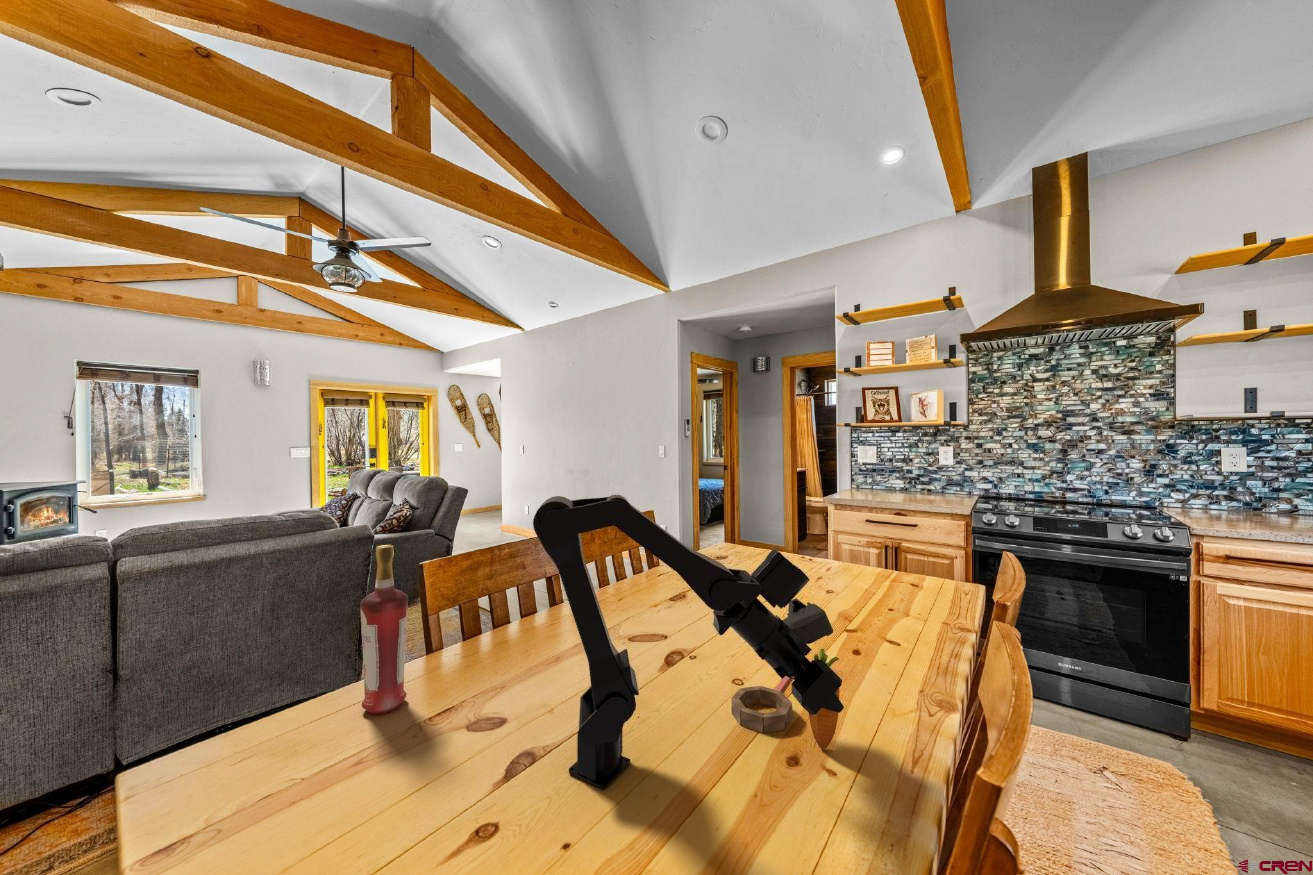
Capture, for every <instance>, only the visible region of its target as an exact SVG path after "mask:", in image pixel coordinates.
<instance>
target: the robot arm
mask: <svg viewBox="0 0 1313 875" xmlns="http://www.w3.org/2000/svg"><path fill="white" fill-rule="evenodd" d="M532 526H533V531H534V533H535V535H536V536H537V538H538V540H539V542H540V544H541V546H542V547H543V549H544V551H545V553H546V555H547V556H548V557H549V558H550V560H551V561H552V563H553V564H554V565H555V567H556V568H557V571H558V575H559V577H560V581H561V582H562V587H563V588H564V592H565V594H566V598H567V600H568V604H569V607H570V611H571V612H572V616H573V619H574V622H575V625H576V628H577V631H578V634H579V638H580V640H581V641H580V642H581V643H582V647H583V650H584V652H585V656H586V659H587V662H588V670H589V678H590V679H589V680H590V686H589V687H588V688H587V689H586V691H584V693H583V694H581V696H579V697H580V698H579V712H578V713H579V715H578V716H579V718H578V731H577V732H576V733H577V734H576V736H577V737H576V740H577V741H576V742H577V743H576V745H577V746H576V748H577V749H576V751H577V752H576V753H577V754H576V762H575V763H573V764H572V765H570V766H569V768H568V774H569V775H571V776H573V777H576V778H577V779H579V780H581V781H583V782H586V783H588V784H590V785H592V786H595V787H596V788H599V789H601V790H605V789H607V788H608V787H609V786H611V784H612V783H613V782H614V781H615V780H616V779H617V778H618V777H619V776H620V775H621V774H622V773H623V772H624V771H625V770H626V769H627V768H628V767H629V766H630V765H631V759H630V758H628V757H626V756H624V755H623V727H624V725H625V723H626V722H628V721H629V720H630V719H631V717H632V716H633V714H634V713H635V711H636V709H637V702H636V696H639V695H640V693H639V685H638V681H637V675H636V671H635V670H634V669H633V667H632V666H631V663H630V658H629V653H628V652H629V651H628V649H627V648H624V650H621V651H620V652H619V651H618V650H617V648H616V647H615V645H614V644H613V642H612V638H611V636H610V633H609V630H608V627H607V624H606V621H605V617H604V613H603V611H602V609H601V605H600V602H599V600H598V596H597V594H596V590H595V588H594V587H595V586H594V584H593V581H592V578H591V576H590V572H589V569H588V565H587V563H586V559H585V557H584V553H583V544H582V534H585V533H589V532H592V531H593V532H594V531H596V530H599V529H604V528H609V527H615V528H617V529H618V530H620V531H621V532H622V533H624V534H625V535H626V536H628V537H629V538H630V539H632V540H633V541H635V543H637V544H638V545H639V546H641V547H643V549H645V550H646V551H648V552H649V553H650V554H652V556H654V557H656V558H657V559H658V560H660V561H661V562H662V563H664V564H665V565H666V566H668V568H670V569H671V570H673V571H675V572H676V574H678V575H679V576H680V577H681V579H682V580H683V581H684V582H685V583H686V584H687V585H688V587H689V588H690V589H691V590H692V591H693V592H694V593H695V594H696V595H697V596H698V598H699V599H700V600H702V602H703V603H704V604H705V605H706V606H707V607H708V608H709V609H711V610H713V612H712V614H713V623H712V626H713V627H714V629H715V631H716V632H717V634H718V635H719V636H723V635H724V634H726V632H727V631H728V630H729V629H730V628H731V629H733V631H734V632H736V633H737V635H739V637H741V638H742V640H744V641H745V643H747V644H748V645H749V646H750V647H751V648H752V650H753V651H754V652H755V653H756V655H758V657H759V658H760V659H761V661H765V662H766V663H767V664H768V665H769V666H770V667H771V668H772V670H774V672H775V673H776V674H777V676H779V677H780V678H781V680H782V679H783V678H784V677H785V676H787V677H789V678H790V679H791V680H793V682H791V694H792V695H793V697H794V698H795V699H796V701H797V702H798V703H799V705H800V706H801V707H802V708H803V709H804V710H806V712H807V713H808V715H809V714H810V715H815V714H817V712H818V711H819V710H820V709H821V708H824V709H827V710H831V711H834V712H838V713H839V714H840V713H841V712H842V711H843V710H844V708H845V706H844V705H843V703H842V702H841V700H840V697H839V698H838V696H837V695H836V693H835V692H836V691H837V690H838V689H840V687H842V684H843V679H842V678H841V677H840V676H839V675H838V674H837V673H836V672H835V671H834V670H833V669H832V668H831V666H830V667H829V666H828V665H827V664H826V663H825V662H824V661H822V660H820V659H819V660H814V659H812V660H811V661H810V660H809V658H808V657H807V656H808V655H809V654H810V652H811V651H812V650H813V649H812V648H811V647H810V646H809V645H810V644H811V645H812V644H813V643H816V642H817V641H818V640H820V639H822V638H824V637H826V636H827V637H829V636H831V635H832V634H833V633H834V628H833V625H832V623H831V622H830V619H829V618H828V615H827V612H826V611H825V610H824V609H823V608H822V607H820V606H819V605H817V604H816V603H811V602H810V601H809V602H806V604H805V603H804V602H802V601H801V600H800V599H798V598H797V597H796V596H797V595H798V594H799V593H800V592H801V591H802V590H803V588H805V586H806V585H807V584H808V583H809V582H810V578H809V577H808V575H807V574H806V573H805V572H804V571H803V570H802V569H801V568H800V567H799V566H797V565H795V564H794V563H793V562H791V561H790V560H789V559H787V557H785V556H784V555H783V554H782V553H781V552H780V551H779V550H777V549H775V548H772V550H771V551H769V553H768V554H767V556H766V557H765V559H764V560H763V561H762V562H761V563H760V564H759V565H758V566H757V568H755V569H754V571H753V572H752V573H749V572H748V571H747V570H745V569H736V568H727V566H725V564H724V563H721V562H720V561H718V560H716V559H714V558H712V557H711V556H708V555H705V554H703V553H702V552H699V551H696V550H694V549H693V548H690V547H688V546H686V544H684V543H682V542H681V540H679V539H677V538H676V537H674V536H673V535H672V534H671V533H669V532H668V531H667V530H666V529H665V528H663V527H661V526H660V525H659V524H657V523H656V522H655V521H654V520H652V519H651V518H649V517H648V516H647V515H646V514H645V513H643V512H641V511H640V510H639V509H638V508H636V507H635V506H634V505H632V503H630V501H628V499H627V498H626V497H625V496H623V495H621V494H611V495H610V496H604V497H591V498H579V499H574V500H573V499H572V500H571V499H569V498H567V497H565V496H561V495H557V496H551V497H549V498H548V499H546V500H544V502H542V504H540V506H539V508H538V509H537V510H536V513H535V514H534V517H533V519H532ZM759 596H761V597H762V598H763V599H764V600H765V601H766V602H767V603H768V605H770V606H771V607H772V608H773V609H775V608H777V607H778V608H779V609H780V610H782V609H783V608H786V607H787V606H788V613H786V614H787V616H786V617H785V618H784V619H782V618H781V617H780V616H778V615H777V614H776V615H775V614H774V613H773V612H772V611H771V610H770V609H769V608H768V607H767V606H766V605H765V604H764V603H763V602H761V600H760V599H759V598H758V597H759ZM795 597H796V598H795Z"/></svg>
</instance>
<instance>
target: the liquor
mask: <svg viewBox="0 0 1313 875" xmlns="http://www.w3.org/2000/svg"><path fill="white" fill-rule="evenodd" d="M375 559H376V564H377V566H376V567H377V568H376V576H375V586H374V591H373V592H371V593H369V594H367V595H366V596H365V597H364V598H363V599H362V600H361V601H360V602H359V604H360V605H359V606H360V607H359V608H360V626H361V628H360V630H361V632H360V633H361V644H362V655H363V657H362V658H363V681H364V682H363V686H364V698H363V700H362V702H361V707H362V709H364V710H366V711H367V712H369V713H371V714H373V715H383V714H387V713H391V712H392V711H394V710H396V709H397V708H398V707H399V706H400V705H401V704H402V703H403V701H405V699H406V698H407V696H408V694H407V692H406V691H405V660H406V641H407V640H406V639H407V627H408V626H407V625H408V607H409V606H408V604H409V595H408V594H407V593H406V592H404V591H403V590H402V589H401V590H400V589H397V588H395V582H394V572H393V561H394V560H393V559H394V545H393V544H385V545H384V544H382V545H377V546H376V547H375Z"/></svg>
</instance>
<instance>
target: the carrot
mask: <svg viewBox="0 0 1313 875" xmlns="http://www.w3.org/2000/svg"><path fill="white" fill-rule="evenodd" d="M818 652H819V654H818V653H815V654H814V655H813V660H822V661H824V662H825V663H826V664H827V665H828V666H829V667H830V668H831V666H832V665H833V664H834V663H835V662H837V661H839V660H840V659H839V657H838V656H835V657H832V658H830V660H829V661H827V660H828V658H829V656H828V654H826V652H825V648H820V649H818ZM840 690H841V689H840V688H839V689H838V690H837V691H836V692H835V693H836V695H837V696H838V698H839V699H840ZM839 714H840V713H838V712H834V711H831V710H827V709H824V708H821V709H820V710H819V711H818V712H817V714H815V715H810V714H809V713H808V719H809V723H810V729H811V732H812V735H813V737H814V738H813V739H815V742H816V743H817V746H818V748H819V749H820V750H821V751H825V750H827V749H828V747H829V746H830V744H831V743H832V740H833V739H834V736H835V733H836V729H837V724H838V719H839Z"/></svg>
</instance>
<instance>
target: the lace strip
mask: <svg viewBox="0 0 1313 875" xmlns="http://www.w3.org/2000/svg"><path fill="white" fill-rule="evenodd" d="M790 679H791V678H789V677H787V676H785V677H784V678H783V679H782V678H781V680H780V682H779V683H778V684H777V686H776V687H775V688H774V690H778V691H780V692H783V689H784V688H785V687H786V685H787V684H788V682H789V681H790Z"/></svg>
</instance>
